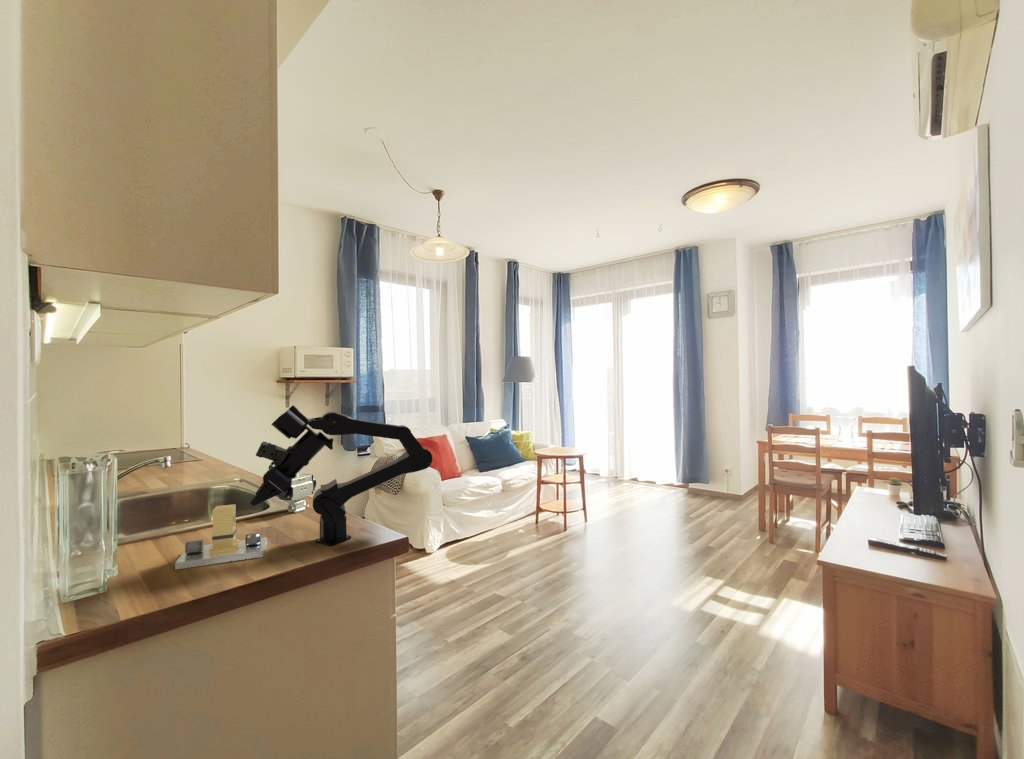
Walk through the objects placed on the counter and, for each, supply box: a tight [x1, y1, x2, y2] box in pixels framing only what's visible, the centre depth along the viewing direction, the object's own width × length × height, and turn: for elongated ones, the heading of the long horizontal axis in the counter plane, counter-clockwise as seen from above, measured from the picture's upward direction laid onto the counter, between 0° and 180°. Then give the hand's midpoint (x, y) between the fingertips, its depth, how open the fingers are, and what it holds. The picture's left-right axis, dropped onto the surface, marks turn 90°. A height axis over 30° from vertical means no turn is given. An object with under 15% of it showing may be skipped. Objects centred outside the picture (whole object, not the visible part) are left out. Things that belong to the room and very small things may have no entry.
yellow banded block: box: [209, 503, 240, 555], centre depth 107 cm, size 5×5×10 cm
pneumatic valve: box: [276, 472, 317, 514], centre depth 142 cm, size 6×12×12 cm, turn 156°
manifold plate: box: [174, 532, 268, 570], centre depth 107 cm, size 17×10×4 cm, turn 113°
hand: (254, 499), depth 110 cm, fingers open, 9 cm apart
